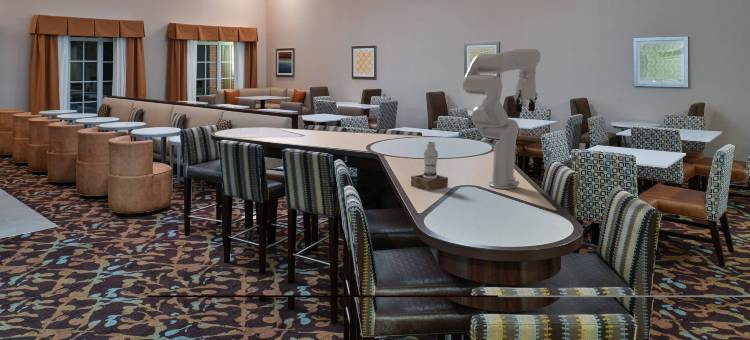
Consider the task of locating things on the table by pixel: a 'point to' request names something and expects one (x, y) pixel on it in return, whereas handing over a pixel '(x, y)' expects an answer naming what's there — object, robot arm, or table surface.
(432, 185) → the square wooden frame
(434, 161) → the silver rounded threaded piece
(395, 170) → the table surface
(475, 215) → the table surface
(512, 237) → the table surface
